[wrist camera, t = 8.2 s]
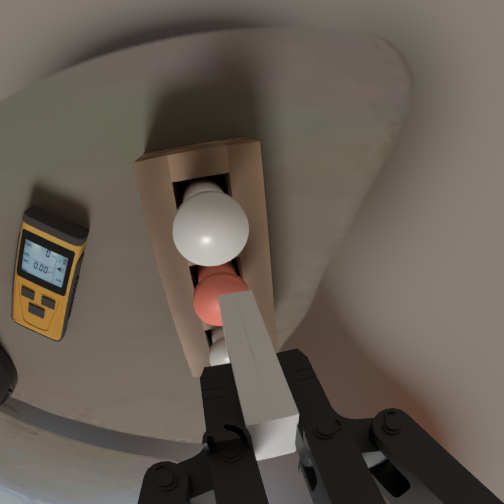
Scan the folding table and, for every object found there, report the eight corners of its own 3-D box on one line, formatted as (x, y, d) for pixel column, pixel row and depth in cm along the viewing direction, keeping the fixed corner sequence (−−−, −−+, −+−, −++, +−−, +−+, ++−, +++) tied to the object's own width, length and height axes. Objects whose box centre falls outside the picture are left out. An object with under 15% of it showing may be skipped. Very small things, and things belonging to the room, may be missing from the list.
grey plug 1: (181, 230, 26) (181, 272, 19) (171, 177, 24) (165, 202, 17) (234, 220, 27) (252, 258, 20) (228, 168, 24) (244, 188, 18)
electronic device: (17, 307, 30) (7, 322, 27) (32, 202, 26) (18, 212, 23) (68, 331, 33) (62, 348, 30) (94, 230, 29) (85, 243, 26)
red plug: (195, 285, 32) (200, 330, 25) (186, 245, 30) (188, 284, 23) (239, 277, 32) (254, 319, 26) (233, 236, 30) (248, 273, 24)
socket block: (190, 343, 37) (193, 377, 32) (144, 153, 26) (133, 162, 21) (265, 328, 39) (277, 360, 33) (245, 136, 28) (260, 141, 23)
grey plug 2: (207, 332, 36) (214, 378, 29) (199, 302, 34) (205, 346, 27) (245, 325, 37) (259, 369, 30) (240, 294, 34) (255, 336, 28)
